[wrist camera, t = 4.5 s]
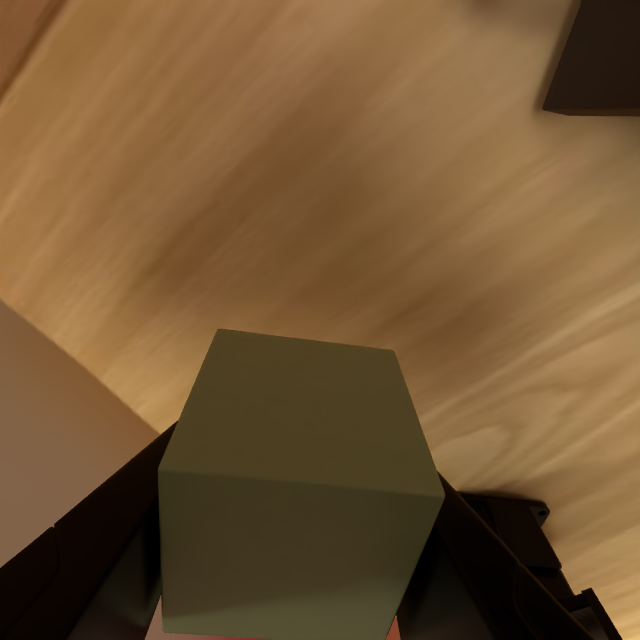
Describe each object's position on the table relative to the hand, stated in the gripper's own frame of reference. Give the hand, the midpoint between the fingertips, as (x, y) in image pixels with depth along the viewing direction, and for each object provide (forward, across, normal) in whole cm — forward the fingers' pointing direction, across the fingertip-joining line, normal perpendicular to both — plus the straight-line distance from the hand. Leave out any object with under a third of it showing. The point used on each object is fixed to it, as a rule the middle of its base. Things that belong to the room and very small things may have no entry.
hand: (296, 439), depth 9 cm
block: (+1, 0, 0) cm, 1 cm away
